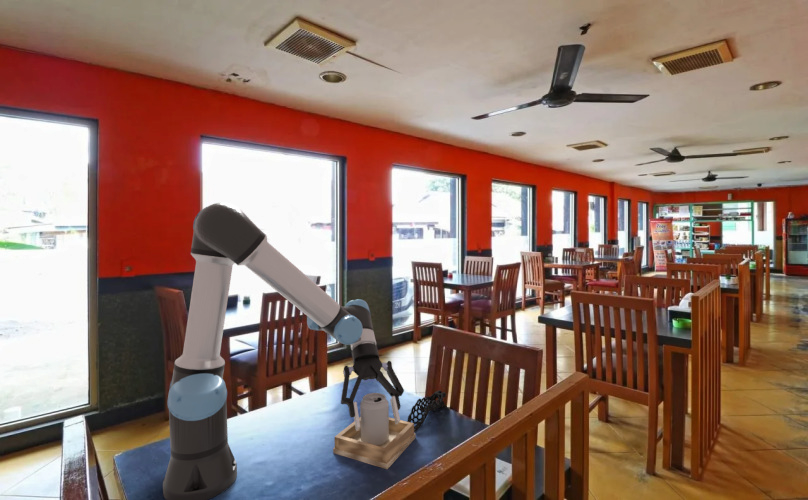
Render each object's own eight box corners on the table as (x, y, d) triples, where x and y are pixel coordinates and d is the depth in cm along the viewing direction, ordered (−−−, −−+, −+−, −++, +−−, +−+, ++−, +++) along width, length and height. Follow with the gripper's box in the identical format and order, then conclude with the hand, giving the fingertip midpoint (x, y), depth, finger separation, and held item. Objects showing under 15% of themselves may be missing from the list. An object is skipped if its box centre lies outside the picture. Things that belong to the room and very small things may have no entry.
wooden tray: (333, 452, 104) (332, 437, 104) (366, 425, 118) (365, 411, 118) (387, 469, 97) (387, 452, 96) (415, 437, 111) (415, 423, 111)
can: (382, 450, 103) (382, 405, 102) (355, 445, 105) (355, 400, 104) (392, 436, 110) (392, 393, 109) (367, 431, 112) (367, 389, 111)
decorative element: (419, 435, 113) (419, 415, 112) (403, 431, 115) (403, 411, 115) (448, 404, 133) (448, 386, 132) (434, 400, 135) (434, 383, 135)
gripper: (397, 350, 124) (415, 423, 110) (324, 358, 117) (333, 437, 103) (403, 338, 119) (422, 413, 105) (326, 345, 112) (336, 427, 98)
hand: (378, 425), depth 104 cm, fingers open, 10 cm apart
